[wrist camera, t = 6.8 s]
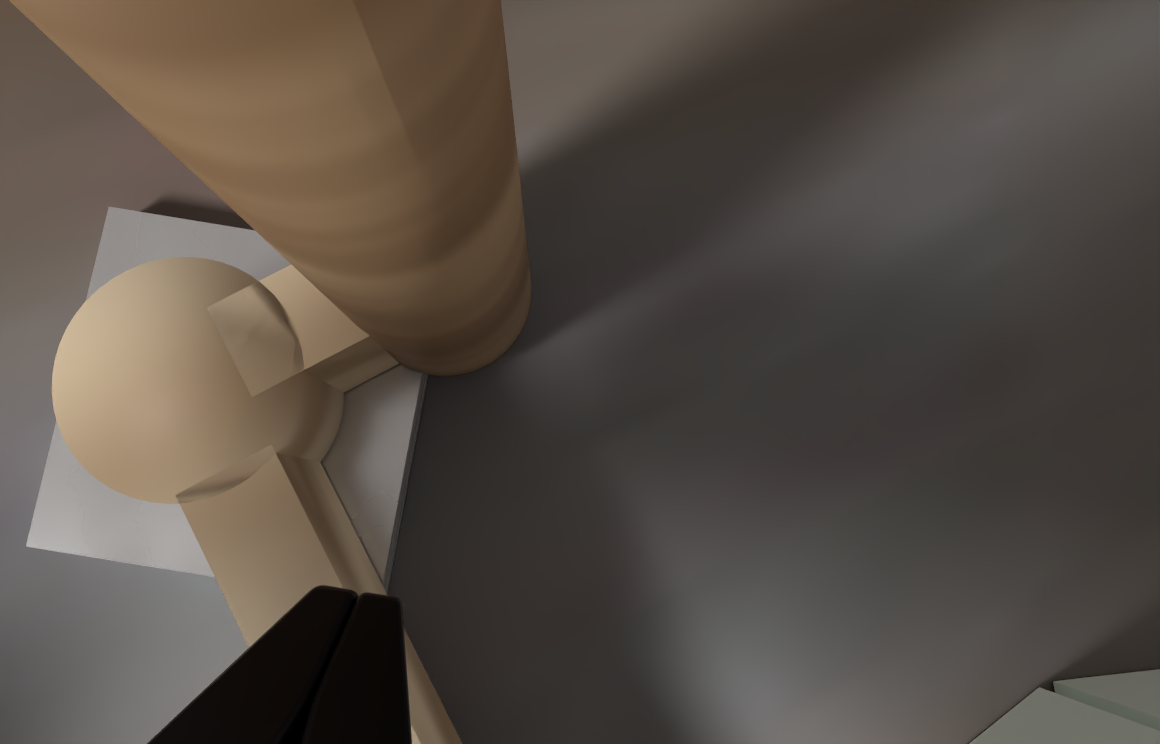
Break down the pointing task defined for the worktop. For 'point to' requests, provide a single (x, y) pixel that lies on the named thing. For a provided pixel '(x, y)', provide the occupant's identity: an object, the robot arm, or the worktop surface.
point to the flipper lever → (294, 266)
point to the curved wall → (1085, 713)
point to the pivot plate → (161, 531)
